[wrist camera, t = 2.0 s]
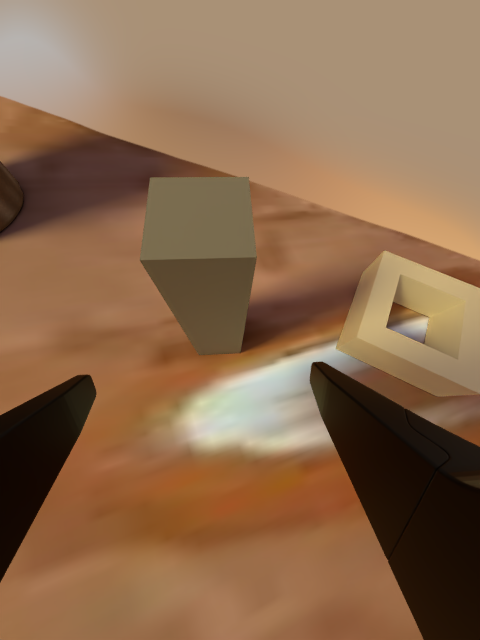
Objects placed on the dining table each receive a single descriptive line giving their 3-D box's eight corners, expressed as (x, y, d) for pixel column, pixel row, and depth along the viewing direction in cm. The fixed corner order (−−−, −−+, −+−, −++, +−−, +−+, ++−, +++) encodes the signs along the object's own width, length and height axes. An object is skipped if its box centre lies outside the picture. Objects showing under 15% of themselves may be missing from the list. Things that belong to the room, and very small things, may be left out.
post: (240, 353, 22) (256, 257, 8) (198, 355, 22) (139, 260, 8) (238, 315, 23) (248, 177, 9) (199, 316, 23) (149, 177, 9)
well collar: (450, 310, 24) (490, 292, 21) (436, 396, 21) (481, 394, 17) (362, 273, 26) (384, 250, 22) (335, 348, 22) (356, 337, 19)
